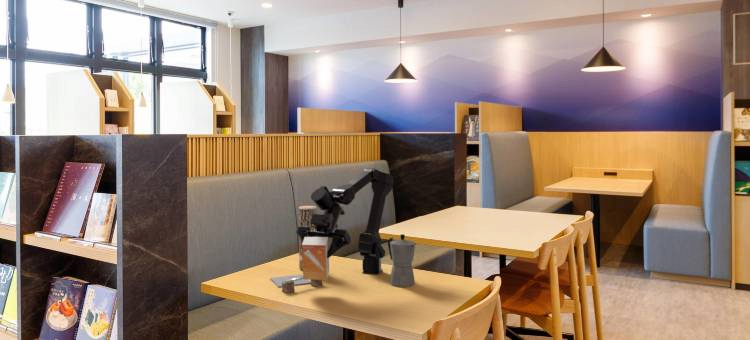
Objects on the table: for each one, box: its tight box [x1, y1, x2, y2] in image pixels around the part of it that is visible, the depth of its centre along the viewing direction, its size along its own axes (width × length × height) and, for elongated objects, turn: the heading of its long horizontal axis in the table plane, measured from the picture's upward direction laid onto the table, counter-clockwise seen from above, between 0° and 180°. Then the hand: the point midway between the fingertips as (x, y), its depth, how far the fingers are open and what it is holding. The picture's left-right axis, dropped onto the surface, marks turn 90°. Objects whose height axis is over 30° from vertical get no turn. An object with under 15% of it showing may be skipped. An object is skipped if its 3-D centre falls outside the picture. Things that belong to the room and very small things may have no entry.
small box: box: [302, 237, 330, 281], centre depth 181 cm, size 8×6×13 cm
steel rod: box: [282, 277, 303, 284], centre depth 189 cm, size 16×1×1 cm, turn 132°
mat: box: [270, 274, 311, 288], centre depth 198 cm, size 12×12×1 cm
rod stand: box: [281, 279, 323, 294], centre depth 189 cm, size 15×3×3 cm, turn 132°
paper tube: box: [298, 205, 317, 271], centre depth 215 cm, size 7×7×25 cm
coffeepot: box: [387, 233, 416, 288], centre depth 195 cm, size 15×9×18 cm, turn 33°
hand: (315, 256), depth 181 cm, fingers closed on small box, 9 cm apart
